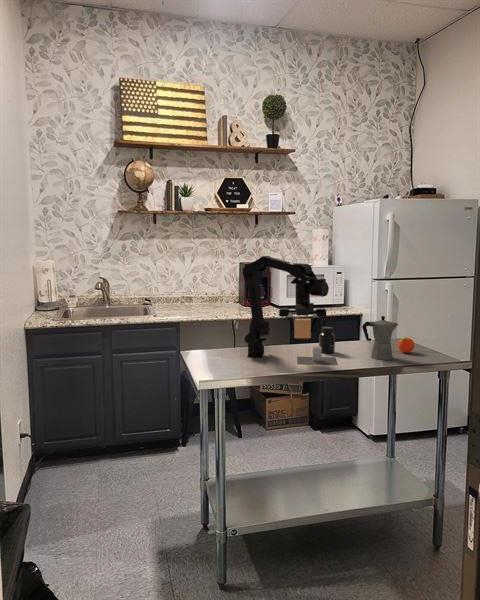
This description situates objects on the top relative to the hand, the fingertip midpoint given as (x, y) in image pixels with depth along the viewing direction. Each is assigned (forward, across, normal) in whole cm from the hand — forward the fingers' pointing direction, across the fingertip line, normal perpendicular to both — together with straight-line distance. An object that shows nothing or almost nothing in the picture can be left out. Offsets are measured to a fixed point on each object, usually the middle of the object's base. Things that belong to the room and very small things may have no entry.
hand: (302, 333), depth 207 cm
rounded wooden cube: (+1, 0, 0) cm, 1 cm away
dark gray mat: (+12, +6, +2) cm, 14 cm away
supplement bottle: (+13, +10, +19) cm, 25 cm away
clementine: (+13, +45, +27) cm, 54 cm away
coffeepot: (+13, +32, +16) cm, 38 cm away
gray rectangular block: (+12, +6, +2) cm, 13 cm away
